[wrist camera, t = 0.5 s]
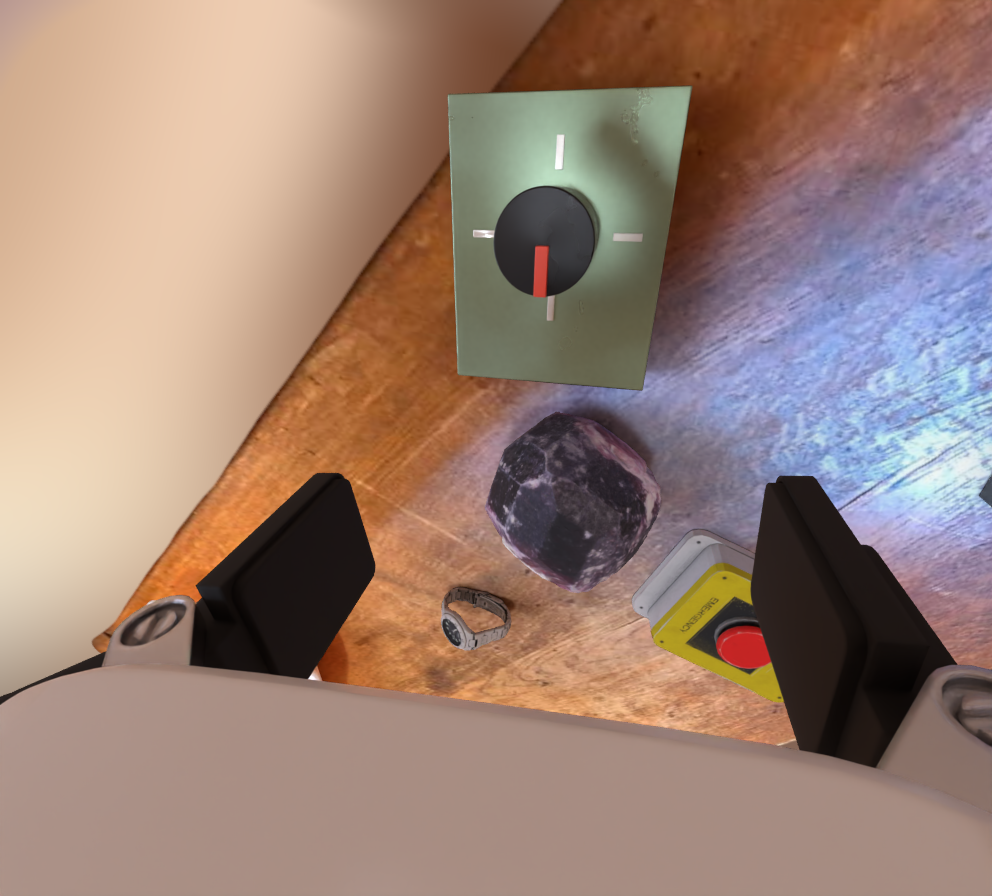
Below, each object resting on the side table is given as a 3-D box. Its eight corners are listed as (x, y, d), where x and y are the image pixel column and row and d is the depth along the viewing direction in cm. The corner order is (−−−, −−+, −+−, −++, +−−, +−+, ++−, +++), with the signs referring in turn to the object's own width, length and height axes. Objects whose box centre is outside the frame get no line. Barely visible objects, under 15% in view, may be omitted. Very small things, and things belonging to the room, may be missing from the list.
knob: (513, 186, 24) (491, 185, 19) (603, 186, 23) (600, 185, 19) (511, 278, 26) (491, 296, 22) (594, 282, 25) (589, 301, 21)
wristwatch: (449, 576, 42) (430, 620, 37) (517, 593, 41) (505, 640, 37) (447, 603, 43) (428, 648, 39) (512, 621, 43) (500, 669, 38)
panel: (465, 103, 25) (446, 93, 22) (684, 96, 23) (693, 84, 20) (470, 360, 32) (456, 376, 29) (640, 373, 30) (642, 392, 27)
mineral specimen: (457, 444, 33) (468, 503, 23) (592, 379, 33) (658, 412, 23) (513, 554, 36) (542, 644, 27) (636, 495, 36) (710, 565, 26)
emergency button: (703, 566, 30) (916, 669, 30) (694, 524, 34) (883, 616, 34) (628, 647, 35) (811, 735, 35) (627, 602, 39) (792, 682, 39)
